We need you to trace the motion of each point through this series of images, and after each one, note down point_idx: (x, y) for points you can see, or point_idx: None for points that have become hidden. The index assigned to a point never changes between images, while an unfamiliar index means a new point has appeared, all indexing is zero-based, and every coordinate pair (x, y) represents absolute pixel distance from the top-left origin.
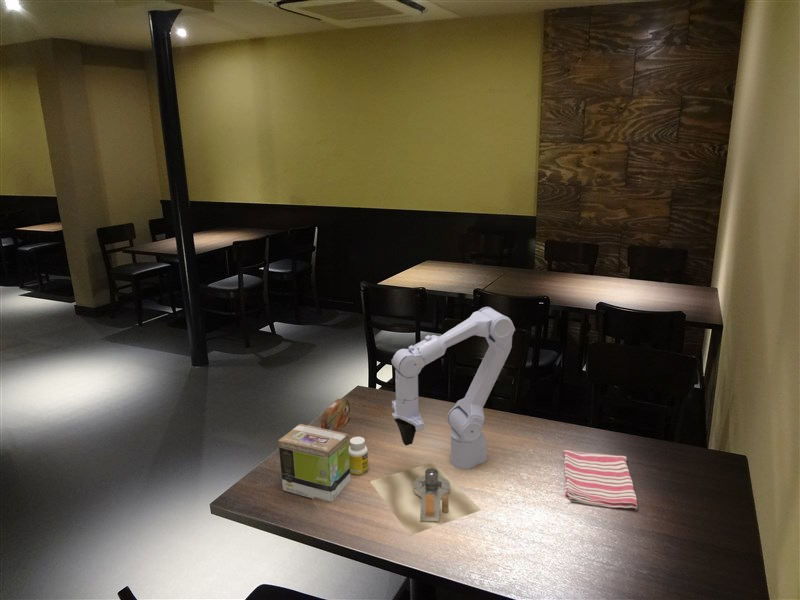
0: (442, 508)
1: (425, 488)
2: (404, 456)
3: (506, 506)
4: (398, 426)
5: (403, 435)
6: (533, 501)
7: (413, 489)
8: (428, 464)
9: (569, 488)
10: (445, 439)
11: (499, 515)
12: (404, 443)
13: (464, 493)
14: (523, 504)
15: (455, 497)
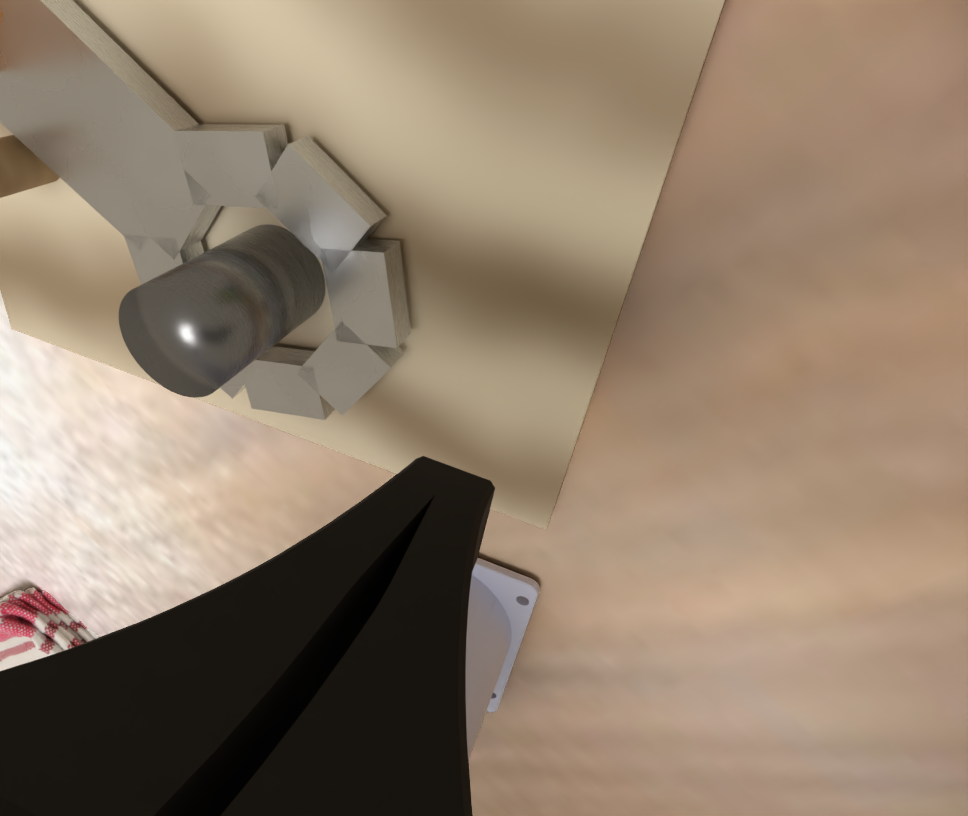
0: (4, 138)
1: (281, 237)
2: (840, 487)
3: (56, 438)
4: (419, 745)
5: (312, 563)
6: (60, 526)
7: (300, 141)
8: (550, 492)
9: (30, 638)
10: (728, 758)
11: (4, 365)
12: (426, 472)
13: None
14: (52, 489)
15: None
